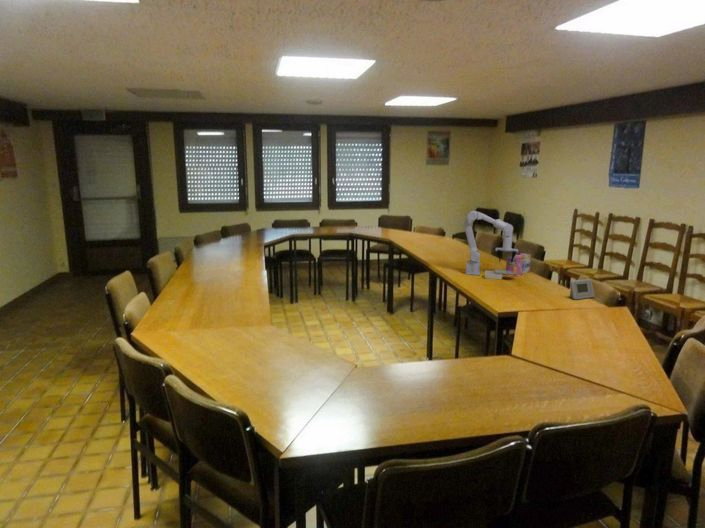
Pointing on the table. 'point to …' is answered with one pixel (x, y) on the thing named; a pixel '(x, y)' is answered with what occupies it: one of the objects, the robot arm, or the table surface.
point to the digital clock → (581, 289)
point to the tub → (492, 275)
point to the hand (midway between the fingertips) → (505, 261)
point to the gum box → (519, 263)
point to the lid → (507, 271)
